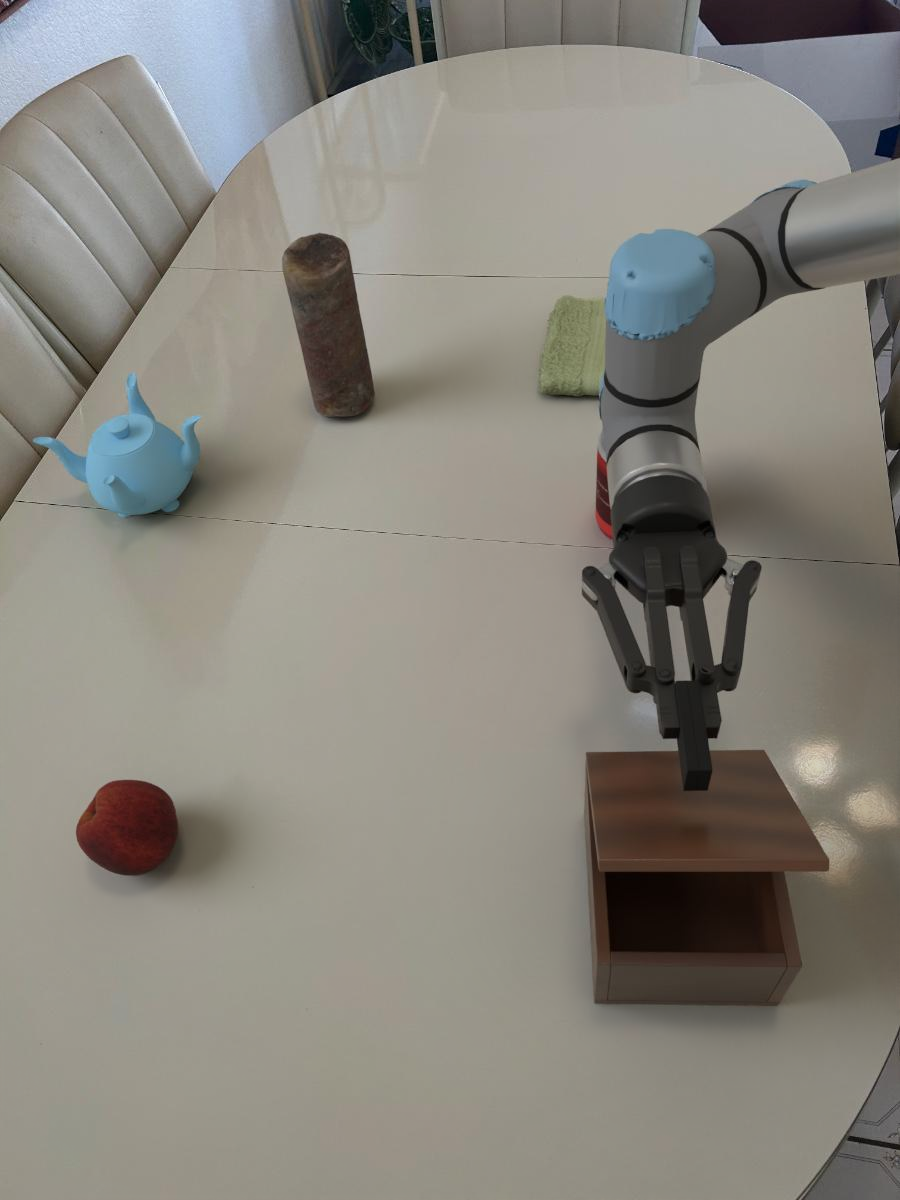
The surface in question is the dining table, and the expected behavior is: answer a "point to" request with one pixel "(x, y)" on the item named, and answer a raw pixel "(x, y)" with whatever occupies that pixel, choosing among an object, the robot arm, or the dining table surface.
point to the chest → (689, 935)
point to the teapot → (134, 460)
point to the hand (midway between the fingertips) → (697, 780)
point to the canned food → (602, 491)
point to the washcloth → (574, 347)
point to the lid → (697, 816)
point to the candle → (329, 324)
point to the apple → (128, 827)
